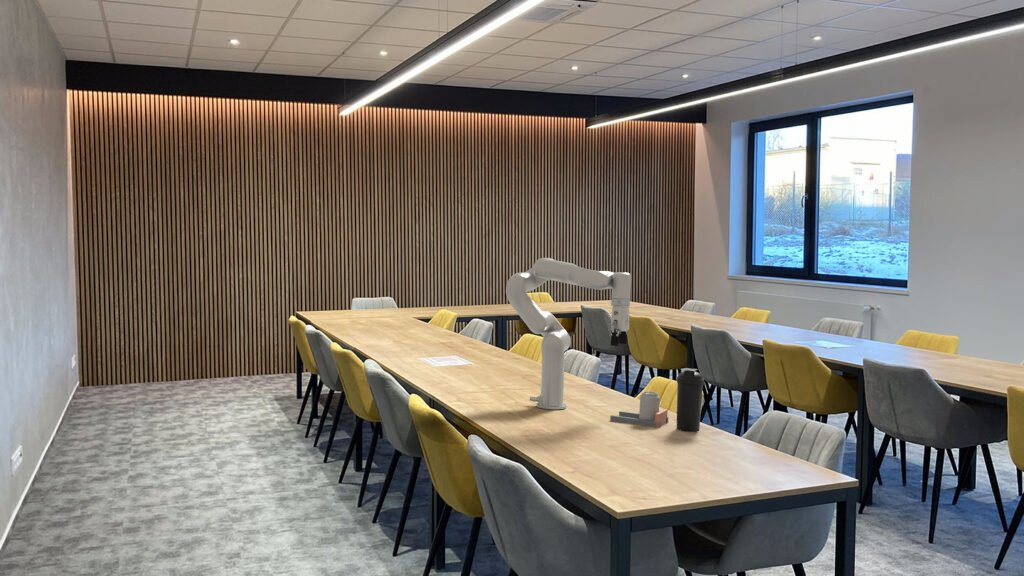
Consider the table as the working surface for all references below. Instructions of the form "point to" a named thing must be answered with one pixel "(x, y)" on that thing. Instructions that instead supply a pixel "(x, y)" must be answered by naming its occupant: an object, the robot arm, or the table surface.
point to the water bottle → (689, 400)
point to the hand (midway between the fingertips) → (618, 344)
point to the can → (649, 405)
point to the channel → (634, 419)
